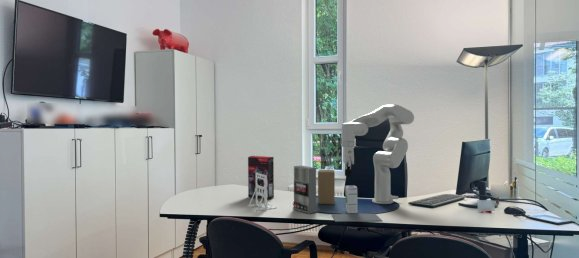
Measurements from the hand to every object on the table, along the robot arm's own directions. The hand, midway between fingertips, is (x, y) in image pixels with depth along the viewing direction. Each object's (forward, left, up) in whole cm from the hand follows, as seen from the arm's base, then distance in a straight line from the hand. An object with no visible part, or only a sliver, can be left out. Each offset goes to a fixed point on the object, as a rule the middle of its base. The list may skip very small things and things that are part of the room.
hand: (347, 175), depth 230 cm
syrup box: (0, +9, -19) cm, 21 cm away
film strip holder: (+50, -5, -19) cm, 53 cm away
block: (+11, -15, -19) cm, 27 cm away
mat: (0, +22, -19) cm, 29 cm away
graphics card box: (+52, -33, -19) cm, 64 cm away
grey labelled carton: (+26, +5, -19) cm, 32 cm away
